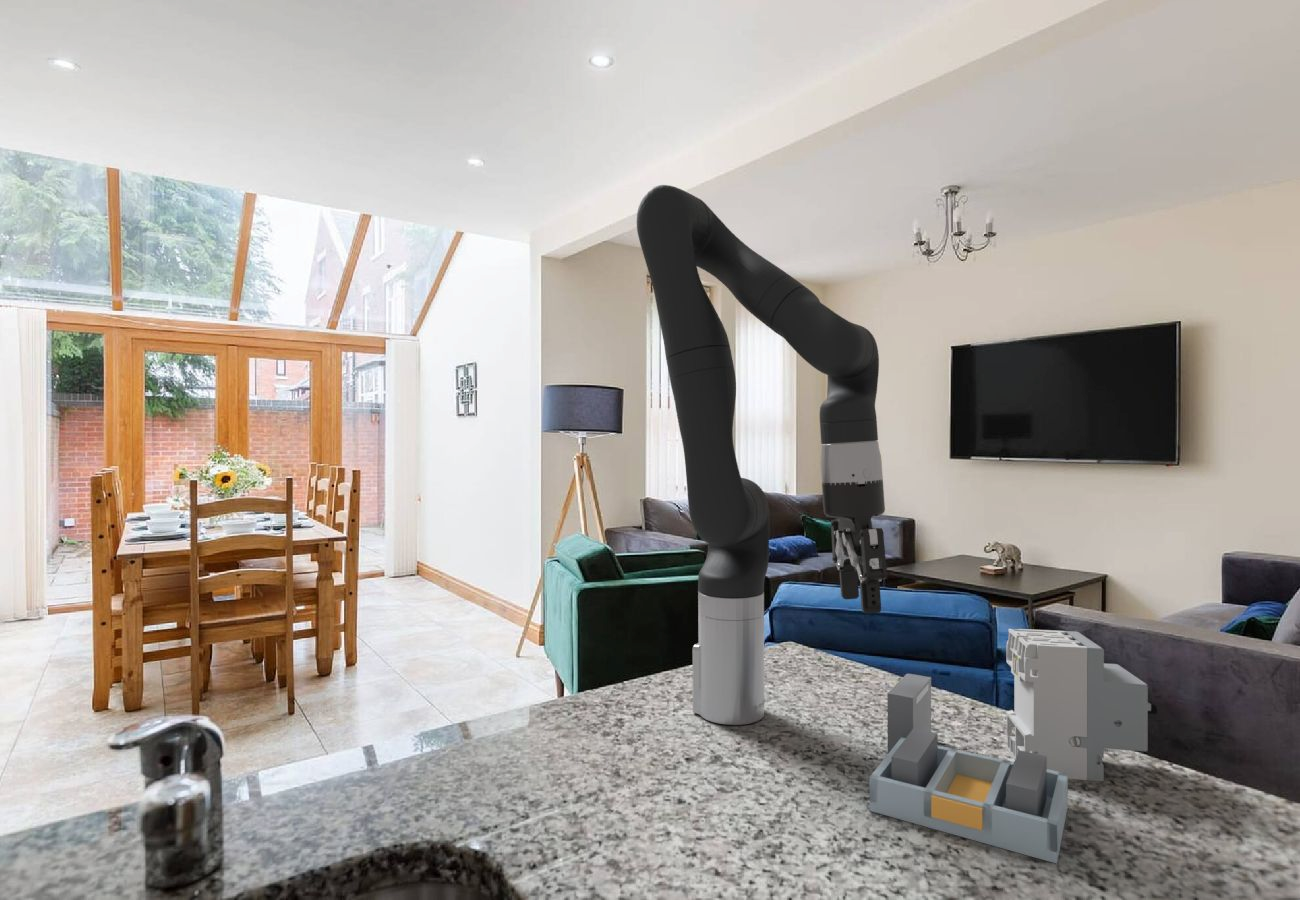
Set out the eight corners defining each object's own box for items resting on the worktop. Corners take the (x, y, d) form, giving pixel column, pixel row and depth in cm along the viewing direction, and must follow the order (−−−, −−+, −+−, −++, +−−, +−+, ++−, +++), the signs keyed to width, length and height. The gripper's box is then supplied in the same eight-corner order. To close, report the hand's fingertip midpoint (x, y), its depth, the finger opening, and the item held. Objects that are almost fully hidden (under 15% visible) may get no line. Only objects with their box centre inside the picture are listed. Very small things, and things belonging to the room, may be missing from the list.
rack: (868, 811, 75) (868, 759, 75) (901, 766, 85) (901, 720, 85) (1056, 865, 65) (1056, 804, 65) (1067, 807, 75) (1067, 754, 75)
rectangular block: (887, 759, 87) (887, 693, 87) (907, 734, 95) (907, 673, 95) (913, 765, 86) (913, 698, 85) (931, 739, 93) (931, 677, 93)
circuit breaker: (1164, 786, 80) (1164, 651, 80) (1024, 775, 83) (1025, 644, 83) (1133, 757, 87) (1133, 634, 87) (1006, 748, 90) (1006, 628, 90)
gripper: (808, 478, 99) (816, 596, 99) (838, 482, 85) (848, 620, 85) (862, 474, 99) (870, 592, 99) (901, 477, 85) (911, 615, 85)
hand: (860, 605), depth 92 cm, fingers open, 8 cm apart
